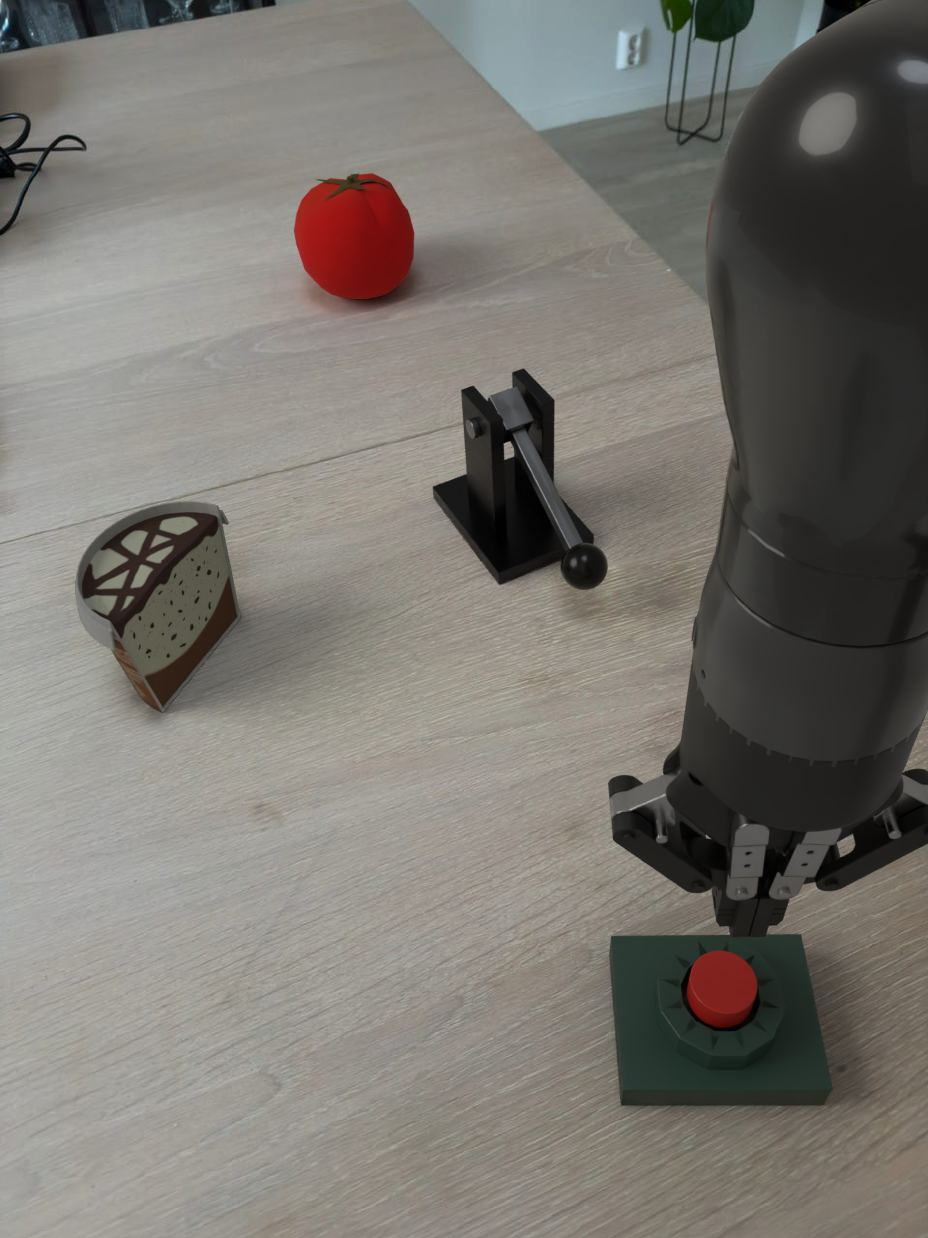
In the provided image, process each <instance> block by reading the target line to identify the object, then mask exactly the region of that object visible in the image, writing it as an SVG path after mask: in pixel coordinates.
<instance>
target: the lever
mask: <svg viewBox="0 0 928 1238" xmlns="http://www.w3.org/2000/svg"><path fill="white" fill-rule="evenodd" d="M486 400H487V401H488V402H489V403H490V405H491V406H492V407H493V408H494V409H495V410H496V411H497V412H498V413H499V415H500V416H501V417H502V418H503V431H504V444H506V443H510V444H511V446H512V448H513V451H514V450H515V452H516V454H517V456H518V458H519V460H520V462H521V464H522V466H523V468H524V470H525V472H526V474H527V476H528V478H529V480H530V482H531V484H532V486H533V488H534V490H535V492H536V494H537V496H538V498H539V500H540V502H541V504H542V506H543V508H544V510H545V512H546V514H547V516H548V518H549V520H550V521H551V523H552V525H553V527H554V529H555V531H556V533H557V535H558V537H559V539H560V541H561V543H562V545H563V547H564V549H565V551H566V552H565V553H564V555H563V557H562V559H561V560H560V574H561V576H562V578H563V580H564V581H565V582H566V584H567V585H569V587H572V588H574V589H575V590H579V591H589V590H592V589H594V588H597V587H598V586H600V585H601V584H602V582H604V580H605V579H606V576H607V574H608V570H609V564H608V563H609V562H608V559H607V556H606V554H605V552H604V551H603V550H602V549H601V548H600V547H598V546H597V545H595V544H594V545H593V544H590V543H583V541H582V539H581V537H580V535H579V533H578V531H577V529H576V527H575V525H574V523H573V521H572V519H571V518H570V516H569V514H568V512H567V510H566V508H565V506H564V504H563V502H562V500H561V498H562V497H561V495H560V494H559V491H558V489H557V488H556V486H555V483H554V484H553V482H552V480H551V478H550V476H549V474H548V472H547V470H546V468H545V466H544V464H543V462H542V460H541V458H540V456H539V454H538V452H537V450H536V448H535V446H534V445H533V443H532V441H531V439H530V437H529V435H528V431H529V429H530V427H531V425H532V423H533V421H534V419H533V417H532V415H531V413H530V411H529V409H528V407H527V405H526V403H525V401H524V399H523V397H522V395H521V393H520V391H519V389H518V388H517V386H516V387H513V388H512V387H511V388H508V389H505V390H502V391H500V392H496V393H493V394H491V395H489V396H488V398H487V399H486ZM560 497H561V498H560Z"/></svg>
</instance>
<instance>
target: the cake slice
mask: <svg viewBox="0 0 928 1238" xmlns="http://www.w3.org/2000/svg"><path fill="white" fill-rule="evenodd" d="M229 524H230V522H229V520H228V517H227V516H226V514H225V512H224V510H223V509H220V508H219V505H218V504H214V503H210V502H205V501H196V500H179V501H172V502H171V501H170V502H164V503H160V504H155V505H151V506H148V507H145V508H141V509H139V510H136V511H135V512H131V513H129V514H128V515H126V516H124V517H122V518H120V519H118V520H116V521H115V522H113V523H112V524H110V525H109V526H108V527H106V528H105V529H104V530H103V531H102V532H100V533H99V534H98V535H97V536H96V537H95V538H94V539H93V540H92V541H91V542H90V544H89V545H88V546H87V547H86V549H85V551H84V553H83V554H82V556H81V558H80V560H79V563H78V565H77V568H76V569H77V570H76V574H75V580H74V596H75V602H76V603H75V604H76V609H77V613H78V617H79V621H80V623H81V625H82V626H83V628H84V630H85V631H86V633H88V634H89V636H90V637H92V639H93V640H95V641H96V642H98V643H99V644H100V645H102V646H103V647H105V648H107V649H109V650H110V651H111V653H112V655H113V656H114V658H115V659H116V661H117V662H118V664H119V666H120V668H121V669H122V671H123V672H124V673H125V675H126V677H127V679H128V681H129V682H130V684H131V685H132V687H133V688H134V690H135V692H136V693H137V695H138V696H139V698H140V699H141V700H142V701H143V702H144V703H145V704H147V705H148V706H149V707H150V708H151V709H153V710H156V711H157V712H159V713H161V714H163V713H164V712H165V711H166V710H167V708H168V707H169V706H170V705H171V704H172V702H173V701H174V700H175V699H176V698H177V696H179V694H180V693H181V692H182V690H183V689H184V688H185V687H186V685H187V684H188V683H189V682H190V681H191V680H192V679H193V677H194V676H195V675H196V673H197V672H198V671H199V670H200V668H201V667H202V666H203V665H204V664H205V663H206V661H207V660H208V659H209V658H210V656H211V655H213V653H214V651H215V650H216V649H217V648H218V647H219V646H220V644H221V643H222V642H223V640H224V639H225V638H226V637H227V636H228V635H229V633H230V632H231V631H232V630H233V628H234V627H235V626H236V625H237V623H239V622H240V620H241V619H242V616H241V611H240V607H239V606H240V605H239V600H238V597H237V596H238V595H237V590H236V586H235V580H234V576H233V571H232V566H231V565H232V564H231V561H230V556H229V551H228V546H227V540H226V535H225V530H224V525H227V526H228V525H229Z"/></svg>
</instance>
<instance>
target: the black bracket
mask: <svg viewBox="0 0 928 1238" xmlns="http://www.w3.org/2000/svg"><path fill="white" fill-rule="evenodd" d="M511 379H512V380H511V386H512V387H511V388H513V387H516V386H517V388H518V389H519V391H520V393H521V395H522V397H523V399H524V401H525V403H526V405H527V407H528V409H529V411H530V413H531V415H532V417H533V419H534V421H533V423H532V425H531V427H530V429H529V431H528V435H529V437H530V439H531V441H532V443H533V445H534V446H535V448H536V450H537V452H538V454H539V456H540V458H541V460H542V462H543V464H544V466H545V468H546V470H547V472H548V474H549V476H550V478H551V480H552V482H553V484H554V485H555V411H556V408H555V406H556V403H555V402H556V401H555V399H554V398H553V396H552V395H550V393H548V391H546V389H545V388H544V387H543V386H541V384H540V383H539V382H538V381H537V380H536V379H535V378H534V377H533V376H532V375H531V374H530V373H529V371H528V370H526V368H524V367H523V368H520V369H517V370H514V371H512V372H511ZM460 396H461V397H460V398H461V410H462V425H463V439H464V442H463V443H464V454H465V455H464V456H465V470H466V473H465V474H463V475H459V476H457V477H455V478H451V479H449V480H447V481H443V482H441V483H438V484H436V485H432V497H433V499H434V501H435V502H436V503H437V504H438V506H439V507H440V508H441V510H442V511H443V512H444V514H445V515H446V516H447V518H448V519H449V521H450V522H451V523H452V525H453V526H454V527H455V528H456V530H457V531H458V532H459V534H460V535H461V536H462V538H463V539H464V540H465V542H466V544H468V545H469V547H470V549H471V550H473V552H474V553H475V555H476V556H477V558H478V559H479V560H480V562H481V563H482V564H483V566H484V567H485V568H486V569H487V571H488V572H489V573H490V575H491V576H492V578H493V579H494V580H495V581H496V583H497V585H502V584H505V583H507V582H510V581H512V580H514V579H517V578H519V577H522V576H524V575H527V574H530V573H532V572H534V571H537V570H539V569H542V568H544V567H546V566H549V565H551V564H553V563H554V564H555V563H556V562H559V561H561V560H562V557H563V555H564V553H565V552H566V551H565V549H564V547H563V545H562V543H561V541H560V539H559V537H558V535H557V533H556V531H555V529H554V527H553V525H552V523H551V521H550V520H549V518H548V516H547V514H546V512H545V510H544V508H543V506H542V504H541V502H540V500H539V498H538V496H537V494H536V492H535V490H534V488H533V486H532V484H531V482H530V480H529V478H528V476H527V474H526V472H525V470H524V468H523V466H522V464H521V462H520V460H519V458H518V456H517V454H516V452H515V450H514V449H513V456H510V457H508V458H505V443H504V431H503V418H502V417H501V416H500V415H499V413H498V412H497V411H496V410H495V409H494V408H493V407H492V406H491V405H490V403H489V402H488V401H487V400H488V399H486V397H484V396H483V394H482V393H481V392H480V391H479V390H478V389H477V388H476V386H475V385H471V386H468V387H465V388H461V389H460ZM560 498H561V500H562V502H563V504H564V506H565V508H566V510H567V512H568V514H569V516H570V518H571V519H572V521H573V523H574V525H575V527H576V529H577V531H578V533H579V535H580V537H581V539H582V541H583V543H590V544H593V545H595V544H594V543H595V534H594V533H593V532H592V531H591V529H590V528H589V527H588V526H587V525H586V524H585V523H584V522H583V521H582V520H581V518H580V517H579V516H578V514H577V513H575V511H574V510H573V509H572V508H571V507H570V506H569V504H567V503H566V501H565V500H564V499H563V498H562V496H560Z"/></svg>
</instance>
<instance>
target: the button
mask: <svg viewBox="0 0 928 1238" xmlns="http://www.w3.org/2000/svg"><path fill="white" fill-rule="evenodd" d="M756 994H757V979H756V976H755V973H754V972H753V970H752V968H751V967H750V965H749V964H748V963H747V962H746V961H745V960H744V959H742V958H741V957H739V956H738V955H736V954H733V953H731V952H727V951H712V952H709V953H706V954H704V955H702V956H701V957H700V958H699V959H698V960H697V961H696V962H695V963H694V965H693V967H692V969H691V973H690V978H689V982H688V987H687V998H688V1002H689V1005H690V1007H691V1009H692V1010H693V1012H694V1013H695V1014H696V1016H697V1017H698V1018H700V1019H701V1020H702V1021H704V1022H705V1023H707V1024H709V1025H711V1026H714V1027H719V1028H729V1027H733V1026H736V1025H738V1024H740V1023H742V1022H743V1021H744V1020H745V1019H746V1018H747V1017H748V1015H749V1014H750V1012H751V1009H752V1006H753V1003H754V1000H755V997H756Z"/></svg>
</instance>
